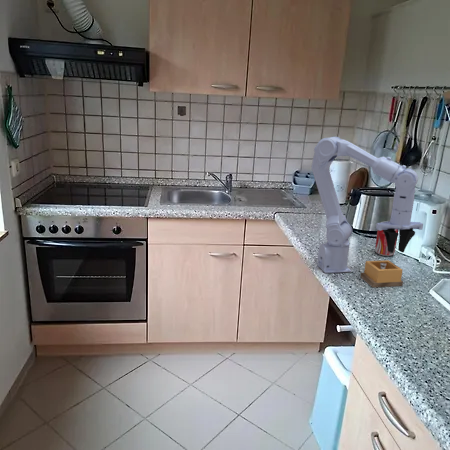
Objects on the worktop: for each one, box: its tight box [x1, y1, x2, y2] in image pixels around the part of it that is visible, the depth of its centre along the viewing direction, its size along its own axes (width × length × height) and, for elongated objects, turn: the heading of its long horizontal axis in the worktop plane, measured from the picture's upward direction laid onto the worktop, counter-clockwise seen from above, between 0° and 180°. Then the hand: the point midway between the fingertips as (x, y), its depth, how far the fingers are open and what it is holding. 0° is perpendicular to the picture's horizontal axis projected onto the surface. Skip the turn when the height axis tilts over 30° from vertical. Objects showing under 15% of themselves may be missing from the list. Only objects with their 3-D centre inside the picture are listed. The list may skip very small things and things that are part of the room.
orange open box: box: [363, 259, 404, 283], centre depth 131 cm, size 8×8×4 cm
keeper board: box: [360, 263, 404, 288], centre depth 131 cm, size 10×8×6 cm
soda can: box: [374, 220, 399, 257], centre depth 156 cm, size 7×7×12 cm
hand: (395, 251), depth 130 cm, fingers open, 3 cm apart
